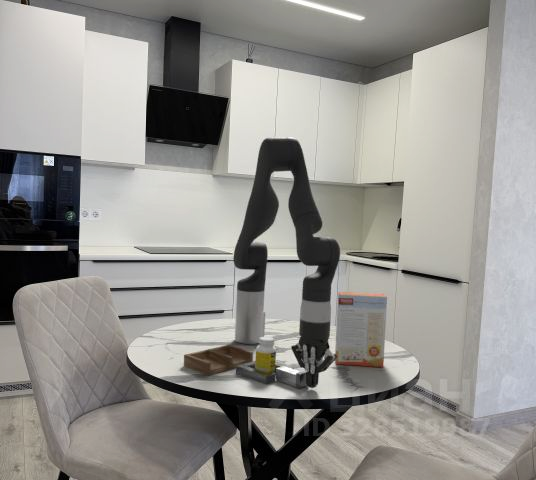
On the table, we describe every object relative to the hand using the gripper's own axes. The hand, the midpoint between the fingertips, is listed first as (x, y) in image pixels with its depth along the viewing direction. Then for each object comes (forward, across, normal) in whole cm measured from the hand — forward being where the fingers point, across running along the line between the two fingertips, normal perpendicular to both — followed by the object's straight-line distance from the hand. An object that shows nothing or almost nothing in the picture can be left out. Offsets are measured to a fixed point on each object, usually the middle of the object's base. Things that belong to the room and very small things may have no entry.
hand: (311, 386), depth 125 cm
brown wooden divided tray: (+1, +30, +4) cm, 30 cm away
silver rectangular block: (+1, +6, 0) cm, 6 cm away
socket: (+1, +16, 0) cm, 16 cm away
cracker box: (+1, +4, -29) cm, 29 cm away
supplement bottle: (+1, +16, 0) cm, 16 cm away
